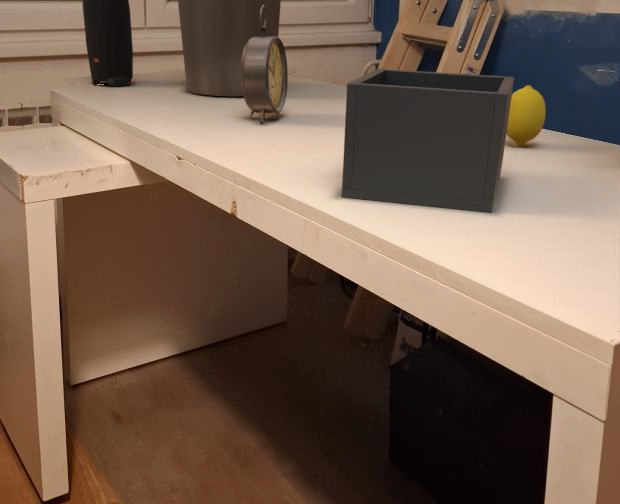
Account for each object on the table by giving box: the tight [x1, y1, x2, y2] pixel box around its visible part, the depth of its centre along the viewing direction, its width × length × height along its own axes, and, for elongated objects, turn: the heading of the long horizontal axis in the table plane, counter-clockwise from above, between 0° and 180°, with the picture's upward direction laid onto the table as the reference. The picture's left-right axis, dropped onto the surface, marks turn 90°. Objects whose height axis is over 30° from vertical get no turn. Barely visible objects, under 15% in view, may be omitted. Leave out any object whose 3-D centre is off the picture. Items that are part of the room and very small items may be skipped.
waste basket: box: [177, 0, 282, 97], centre depth 138 cm, size 27×20×30 cm
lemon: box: [506, 84, 547, 147], centre depth 102 cm, size 6×6×8 cm
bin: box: [341, 68, 515, 213], centre depth 79 cm, size 15×15×11 cm
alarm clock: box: [240, 5, 289, 125], centre depth 114 cm, size 11×5×16 cm, turn 166°
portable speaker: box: [82, 0, 134, 87], centre depth 144 cm, size 9×9×20 cm
